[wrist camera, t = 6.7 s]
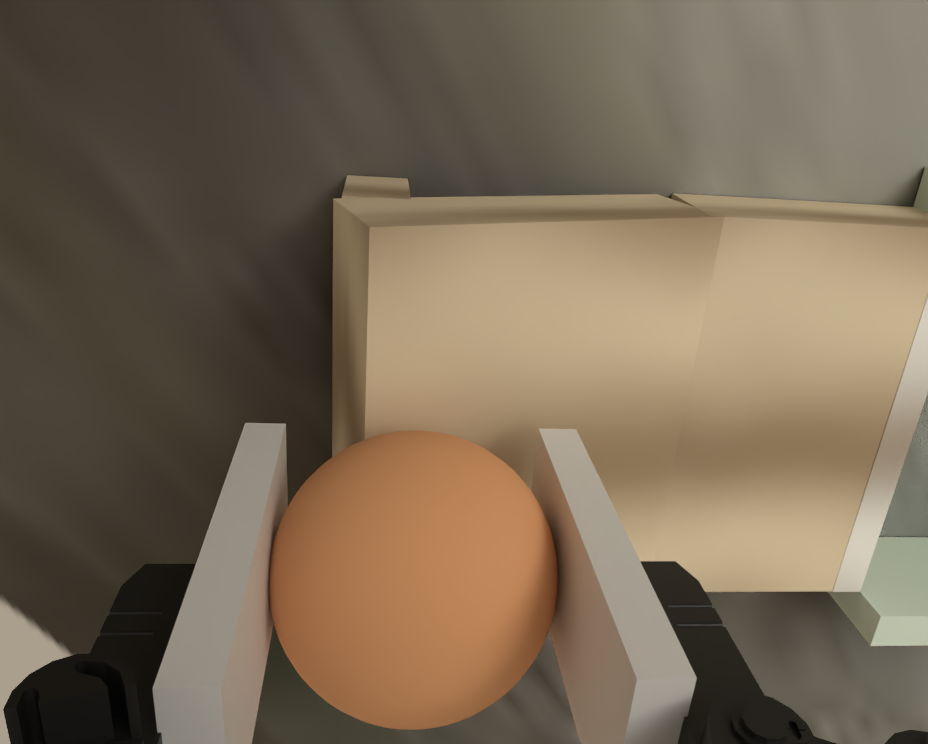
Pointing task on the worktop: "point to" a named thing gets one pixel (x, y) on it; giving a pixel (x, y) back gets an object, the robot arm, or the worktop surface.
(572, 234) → the ramp lane
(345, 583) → the ball
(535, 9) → the worktop surface
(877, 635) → the tray
